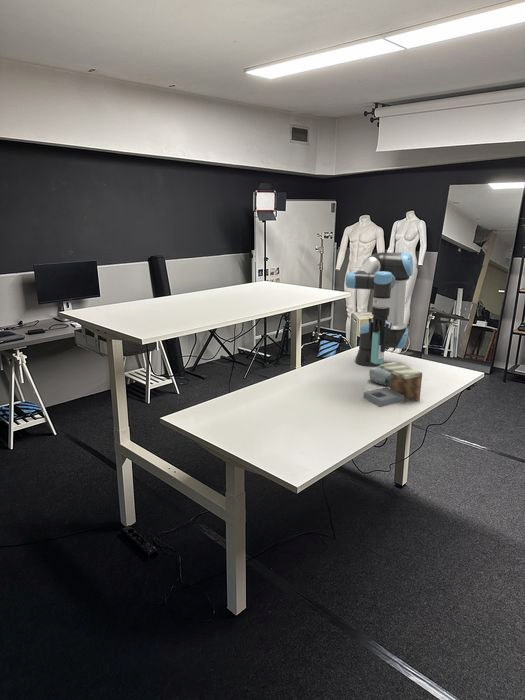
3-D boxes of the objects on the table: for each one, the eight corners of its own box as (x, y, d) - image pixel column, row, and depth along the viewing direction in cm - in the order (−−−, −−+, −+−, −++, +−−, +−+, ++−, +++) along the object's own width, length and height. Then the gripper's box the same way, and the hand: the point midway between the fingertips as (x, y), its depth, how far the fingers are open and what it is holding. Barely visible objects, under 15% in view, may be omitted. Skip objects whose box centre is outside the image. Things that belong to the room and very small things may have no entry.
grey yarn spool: (401, 378, 241) (393, 363, 238) (390, 390, 237) (382, 374, 234) (381, 377, 253) (373, 362, 249) (371, 388, 248) (362, 373, 245)
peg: (370, 361, 218) (372, 332, 214) (377, 360, 220) (379, 331, 216) (376, 364, 215) (378, 334, 211) (383, 363, 216) (385, 333, 213)
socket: (363, 397, 225) (363, 392, 224) (386, 392, 231) (386, 387, 230) (380, 406, 215) (380, 400, 214) (403, 401, 221) (404, 395, 220)
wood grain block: (377, 391, 232) (379, 364, 228) (393, 388, 236) (395, 361, 232) (403, 404, 217) (405, 376, 213) (419, 400, 221) (422, 372, 217)
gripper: (362, 304, 216) (359, 353, 222) (387, 310, 201) (383, 363, 208) (375, 303, 219) (372, 351, 226) (400, 309, 204) (396, 360, 211)
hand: (377, 356), depth 217 cm, fingers closed on peg, 4 cm apart
